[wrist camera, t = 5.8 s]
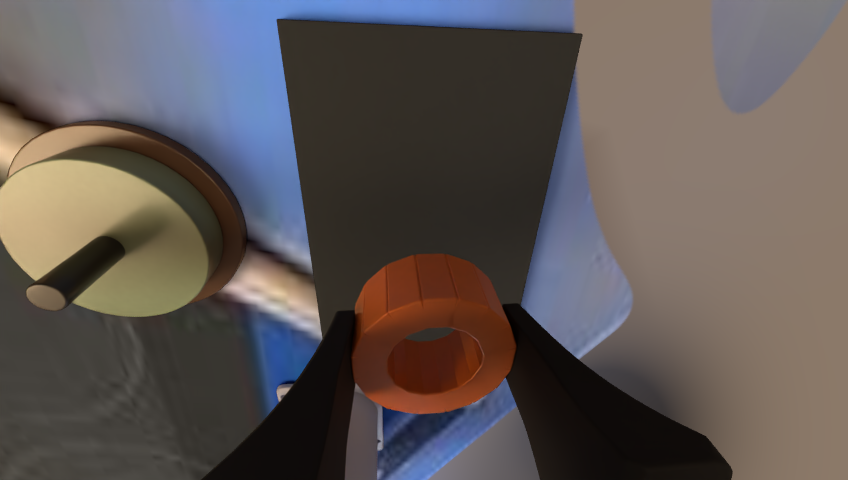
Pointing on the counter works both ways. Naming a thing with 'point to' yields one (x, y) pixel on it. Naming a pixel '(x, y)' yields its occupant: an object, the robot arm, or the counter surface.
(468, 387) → the ring
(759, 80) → the counter surface
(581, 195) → the counter surface
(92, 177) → the ring stand
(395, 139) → the mat
